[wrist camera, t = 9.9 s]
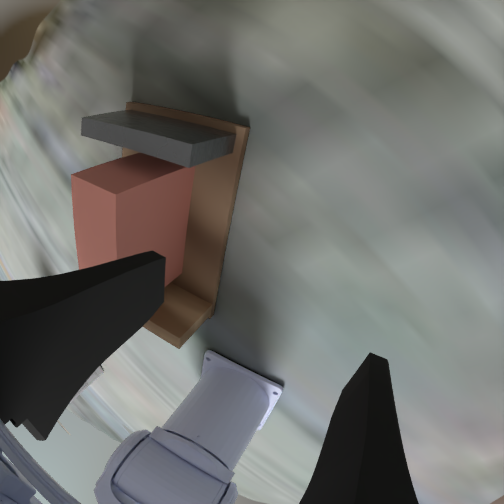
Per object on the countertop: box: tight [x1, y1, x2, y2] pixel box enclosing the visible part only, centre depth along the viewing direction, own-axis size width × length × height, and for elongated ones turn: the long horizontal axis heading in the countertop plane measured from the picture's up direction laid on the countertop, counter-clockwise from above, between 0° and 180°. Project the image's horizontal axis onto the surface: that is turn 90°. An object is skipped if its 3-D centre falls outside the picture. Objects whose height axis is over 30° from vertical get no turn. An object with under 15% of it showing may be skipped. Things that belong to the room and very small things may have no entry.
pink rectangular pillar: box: [71, 153, 195, 287], centre depth 20 cm, size 9×4×7 cm, turn 167°
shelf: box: [122, 102, 250, 349], centre depth 21 cm, size 15×10×5 cm, turn 168°
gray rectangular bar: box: [81, 110, 237, 168], centre depth 17 cm, size 1×9×4 cm, turn 78°
